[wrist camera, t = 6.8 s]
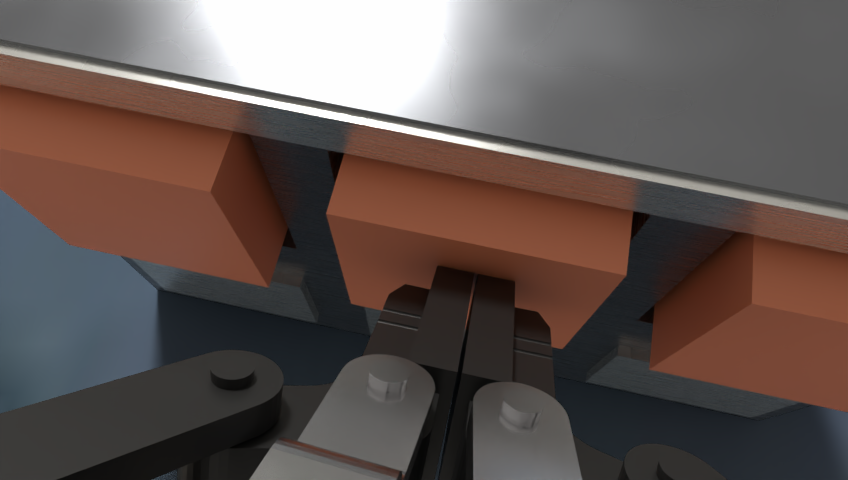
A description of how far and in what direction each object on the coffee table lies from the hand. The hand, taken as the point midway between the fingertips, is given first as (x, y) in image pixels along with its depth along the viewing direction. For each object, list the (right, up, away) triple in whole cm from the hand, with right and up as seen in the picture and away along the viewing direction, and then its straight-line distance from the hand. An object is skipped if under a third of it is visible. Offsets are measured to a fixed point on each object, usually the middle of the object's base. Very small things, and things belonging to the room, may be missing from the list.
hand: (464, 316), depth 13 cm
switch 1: (-6, +3, +4) cm, 8 cm away
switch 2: (0, +2, +4) cm, 4 cm away
